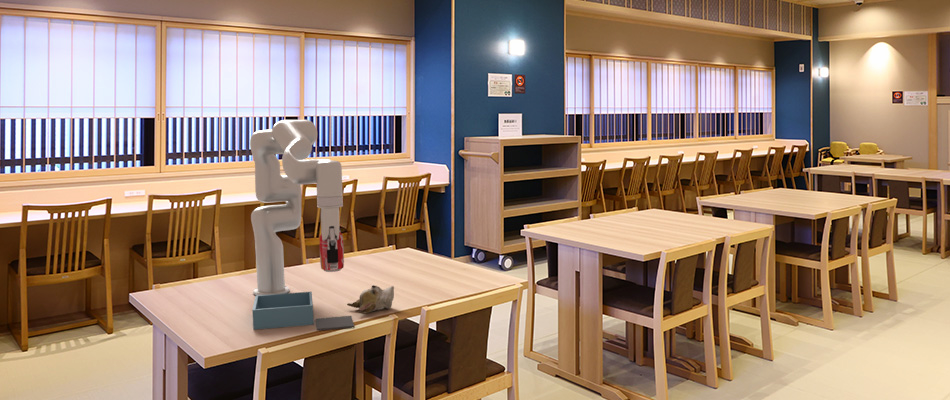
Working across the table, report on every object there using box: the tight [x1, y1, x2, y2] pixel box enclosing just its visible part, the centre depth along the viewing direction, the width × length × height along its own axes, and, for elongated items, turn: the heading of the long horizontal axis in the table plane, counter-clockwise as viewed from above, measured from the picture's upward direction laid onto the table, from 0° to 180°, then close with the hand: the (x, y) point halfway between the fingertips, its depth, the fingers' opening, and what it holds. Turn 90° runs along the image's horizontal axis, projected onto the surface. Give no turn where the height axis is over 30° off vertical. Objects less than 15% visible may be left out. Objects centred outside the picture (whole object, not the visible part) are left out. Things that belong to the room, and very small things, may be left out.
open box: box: [251, 291, 315, 330], centre depth 216 cm, size 18×18×6 cm
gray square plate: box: [315, 315, 355, 331], centre depth 210 cm, size 11×11×1 cm
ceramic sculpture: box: [346, 284, 395, 314], centre depth 224 cm, size 11×9×15 cm
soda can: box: [319, 229, 345, 273], centre depth 208 cm, size 7×7×12 cm
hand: (332, 259), depth 208 cm, fingers closed on soda can, 7 cm apart
